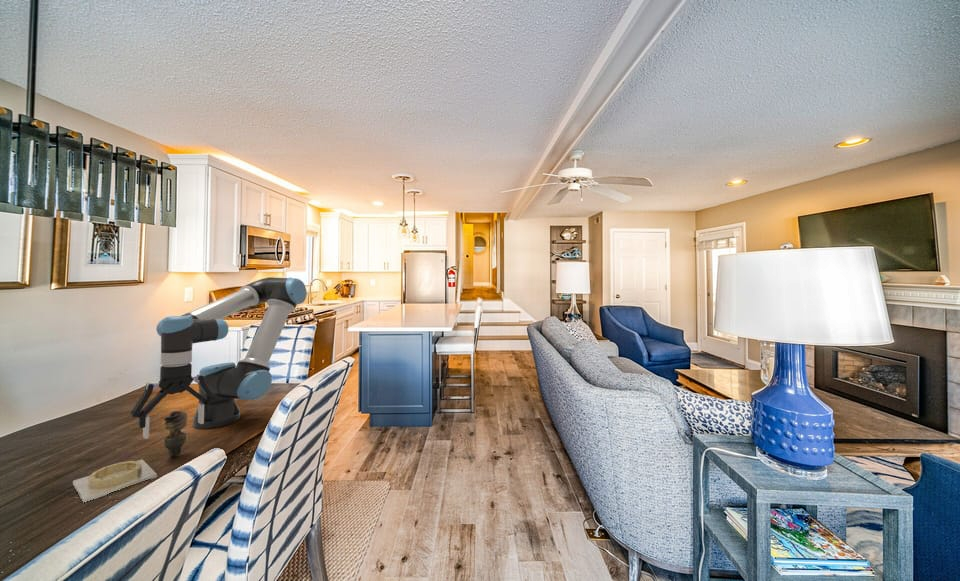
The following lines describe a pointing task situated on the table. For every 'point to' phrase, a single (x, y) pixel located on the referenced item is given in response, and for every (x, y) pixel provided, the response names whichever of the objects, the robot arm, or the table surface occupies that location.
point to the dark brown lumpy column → (175, 432)
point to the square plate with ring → (112, 479)
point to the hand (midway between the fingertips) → (174, 429)
